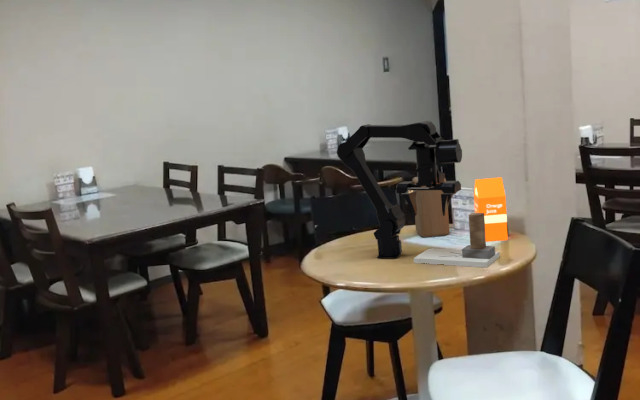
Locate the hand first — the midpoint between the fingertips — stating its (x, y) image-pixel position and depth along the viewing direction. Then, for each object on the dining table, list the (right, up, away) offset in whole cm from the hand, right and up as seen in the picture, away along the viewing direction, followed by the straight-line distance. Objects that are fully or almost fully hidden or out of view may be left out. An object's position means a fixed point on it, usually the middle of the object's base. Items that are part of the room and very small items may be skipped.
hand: (430, 215), depth 201 cm
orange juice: (+23, -8, +19) cm, 31 cm away
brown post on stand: (+13, -12, -7) cm, 19 cm away
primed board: (+7, -13, -3) cm, 15 cm away
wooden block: (+7, -7, +34) cm, 35 cm away
